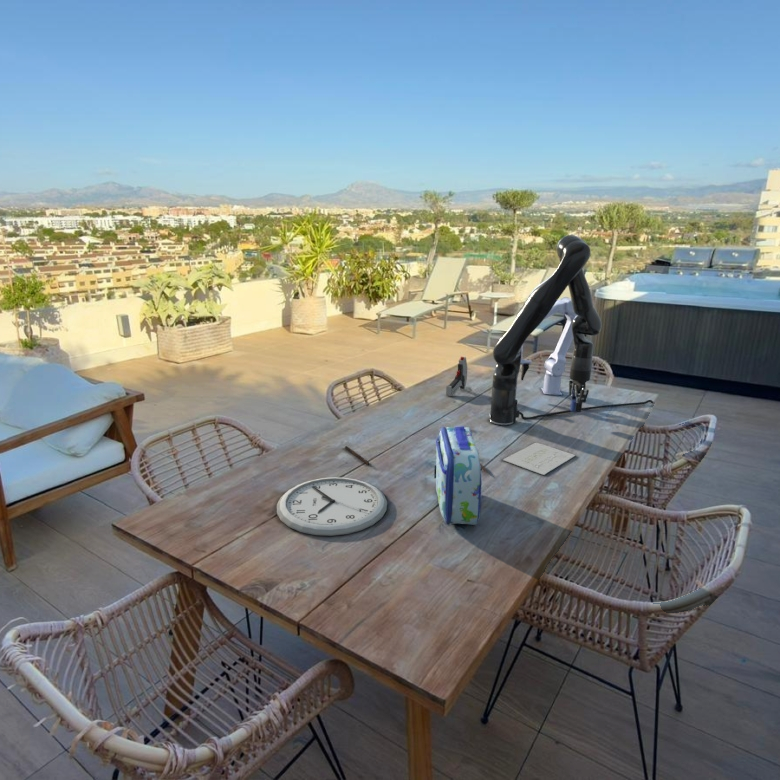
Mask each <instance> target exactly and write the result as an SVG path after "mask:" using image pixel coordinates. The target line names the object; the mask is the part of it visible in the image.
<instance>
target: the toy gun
mask: <svg viewBox="0 0 780 780" xmlns="http://www.w3.org/2000/svg"><path fill="white" fill-rule="evenodd" d="M467 379H468V362H467V357H466V356H460V358H459V360H458V363H457V370H456V375H455V377H454V379H453V380H452V381H451V382H450V383H449V384H448V385H446V388H445V395H446V396H447V397H452V396H454V395H455V394H456V393H457V391H459V389H460V390H463V391H465V390H466V386H467Z"/></svg>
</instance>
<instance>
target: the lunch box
mask: <svg viewBox="0 0 780 780" xmlns="http://www.w3.org/2000/svg"><path fill="white" fill-rule="evenodd" d="M435 444H436V448H435V449H436V452H435V454H436V456H435V463H436V464H434V474H433V475H434V479H435V491H436V495H437V502H438V508H439V511H440V515H441V517H442V519H443V521H444V523H445V524H446V525H448V526H449V525H454V524H456V525H457V524H459V525H460V524H461V525H470V526H471V525H473V526H474V525H475V526H476V525H477V524H478V523H479V520H480V516H481V515H480V514H481V503H482V469H481V467H480V464H481V463H480V455H479V450H478V448H477V446H476V443H475V441H474V437H473V433H472V430H471V428H470V427H469V426H468V427H465V426H463V425H462V426H461V425H460V426H454V427H453V426H452V427H450V426H449V427H445V426H442V427H440V431H439V432H438V437H437V438H436V440H435Z"/></svg>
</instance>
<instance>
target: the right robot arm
mask: <svg viewBox="0 0 780 780" xmlns="http://www.w3.org/2000/svg"><path fill="white" fill-rule="evenodd" d="M556 314H564V316H565V317H566V319H567V320H566V323H565V325H564V328H563V330H562V332H561V334H560V337H559V339H558V341H557V344H556V347H555V348H554V351H553V352H552V353H551V354H549V357H548V358H546V359H545V362H544V368H545V370H546V372H545V375H544V379H543V387H541V388H540V389H541V391H542V392H543V394H544V395H551V396H552V395H553V396H563V393H562V392H561V385H562V379H563V377H562V376H563V374H564V373H565V371H566V364H567V359H566V356H567V354H568V351H569V349H570V346H571V344H572V342H573V341H574V340H573V333H572V322H573V319H574V318H575V317H576V316H577V315H576V314H575V313H574V310H573V306H572V301H571V297H568V296H563V297H561V298H560V299H558V300H557V301H556V303H555V304H554V306H553V307H552V309H551V310H550V312H549V313H548V315H547V316H546V317H545V319H544V320H546V319H548V318H550V317H552V316H553V315H556ZM521 348H522V354H521V363H520V366H521V376H520V380H521V381H524V378H525V376H526V374H527V372H528V370H529V369H530V366H532V364H533V363H532V362H533V361H532V360H531V359H524V358H523V352H524V344H523V345H522V347H521Z"/></svg>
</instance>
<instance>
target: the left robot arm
mask: <svg viewBox="0 0 780 780" xmlns="http://www.w3.org/2000/svg"><path fill="white" fill-rule="evenodd" d="M555 252H556V255H557V257H558V259H559V262H560V263H559V264H558V266H557V267H556V269H555V270H554V272H553V273H552V275H550V276H549V277H548V278H547V279H546V280H544V281H542V282H541V283H540V284H538V285H537V286H536V287H535V288H533V290H532V291H531V292H530V294H529V295H528V297H527V298H526V299H525V301H524V303H523V304H522V306H521V308H520V309H519V311H518V312H517V315H516V316H515V317H514V319H513V322H512V324H511V325H510V327H509V328H508V329H507V330H506V332H505V333H504V334H503V336H502V337H501V338H500V339H499V341H498V342H497V343H496V344H495V345H494V346H493V349H492V356H493V360H494V361H495V363H496V365H495V369H494V371H493V374H492V388H491V399H490V410H489V411H490V412H489V415H488V416H489V422H490V423H491V424H494V425H497V426H511V425H513V424H516V423H517V419H518V418H520V417H521V419H522V420H533V419H538V418H544V417H549V416H556V415H561V414H567V413H574V412H573V411H571V410H570V409H567V410H562V411H561V410H559V411H555V412H549V413H544V414H537V415H532V416H529V417H527V416H524V413H523V412H522V411H520V410H519V409H518V399H517V388H518V378H519V375H520V370H521V365H520V363H521V354H522V355H523V353H522V348H521V347H522V345H523V346H524V344H525V342H526V341H527V339H528V338H529V336H530V335H531V334H533V332H534V331H535V330H536V329H537V328H539V326H540V325H541V324H542V322H543V321H544V320H546V319H545V317H546V316H547V315H548V313H549V312H550V310H551V309H552V307H553V306H554V304H555V303H556V301H557V300H559V298H560V297H561V296H562V294H563V293H564V292H565V290H566V289H567V287H568V290H569V294H570V295H569V296H570V299H571V301H572V306H573V310H574V313H575V314H576V315H577V316H576V317H575V318H574V319H573V322H572V333H573V340H572V341H573V353H572V358H571V362H570V371H569V381H568V395H569V396H570V401H571V400H572V399H576V407H575V411H576V412H575V413H581V412H582V411H586V410H595V409H603V408H614V407H615V408H616V407H624V406H625V407H627V406H639V405H645V404H649V403H651V404H654V401H653V400H652V399H647V400H645V401H640V402H625V403H615V404H604V405H595V406H594V405H593V406H588V407H583V404H585V403H586V402H587V398H588V395H589V392H590V389H587V388H586V387H587V386H586V383H587V382H589V381H590V380H591V375H592V367H593V355H594V347H595V346H594V345H595V344H594V342H593V341H591V340H589V339H587V338H586V337H585V335H586V336H589V337H590V336H591V337H595V336H597V335H599V334H600V332H601V331H602V328H603V323H602V319H601V316H600V314H599V313H598V311H597V309H596V308H595V306H594V302H593V295H592V291H591V288H590V285H589V282H588V280H587V278H586V275H585V273H584V269H583V268H584V267H585V266H586V264H588V262H589V260H590V258H591V255H592V254H591V253H592V252H591V248H590V246H589V245H588V244H587V242H585V241H584V240H583V239H582V238H580V237H578V236H577V235H573V234H569V235H565V236H563V237H562V238H561V239H560V240H559V241H558V243H557V245H556V251H555ZM569 407H571V405H570V406H569Z"/></svg>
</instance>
